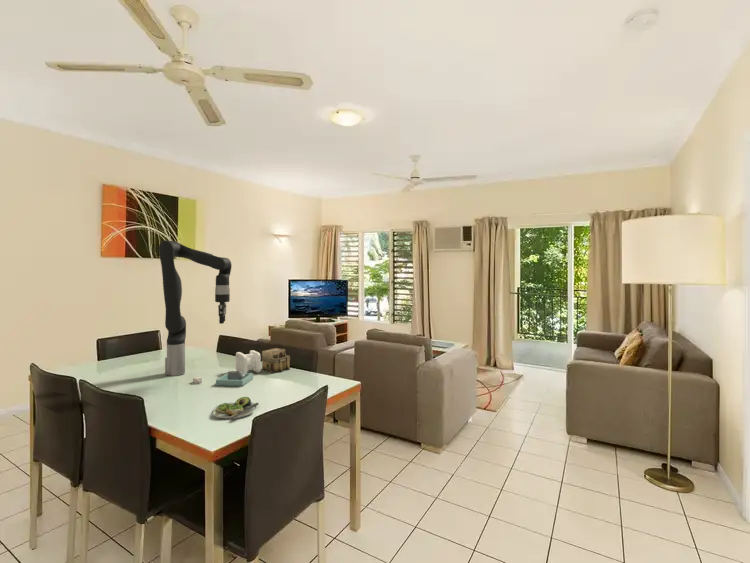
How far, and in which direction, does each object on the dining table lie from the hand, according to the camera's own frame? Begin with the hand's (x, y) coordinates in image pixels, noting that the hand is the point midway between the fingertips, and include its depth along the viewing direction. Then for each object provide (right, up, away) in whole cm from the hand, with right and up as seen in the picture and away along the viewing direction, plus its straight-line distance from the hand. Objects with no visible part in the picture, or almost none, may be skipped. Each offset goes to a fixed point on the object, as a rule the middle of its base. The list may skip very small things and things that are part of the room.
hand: (222, 322), depth 216 cm
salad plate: (+26, -32, -53) cm, 68 cm away
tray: (+11, -30, -11) cm, 34 cm away
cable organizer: (+11, -30, +9) cm, 34 cm away
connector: (+11, -30, -11) cm, 34 cm away
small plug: (-8, -30, -12) cm, 34 cm away
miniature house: (+25, -30, +16) cm, 43 cm away
